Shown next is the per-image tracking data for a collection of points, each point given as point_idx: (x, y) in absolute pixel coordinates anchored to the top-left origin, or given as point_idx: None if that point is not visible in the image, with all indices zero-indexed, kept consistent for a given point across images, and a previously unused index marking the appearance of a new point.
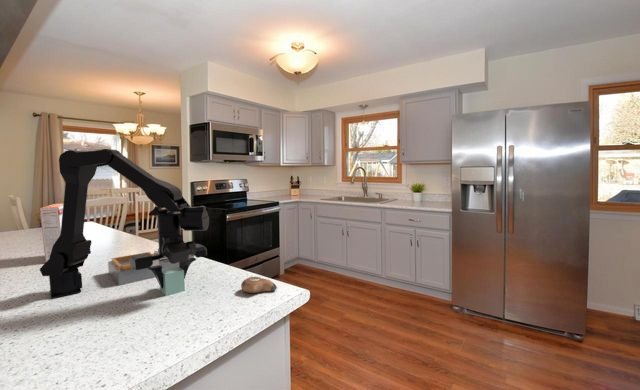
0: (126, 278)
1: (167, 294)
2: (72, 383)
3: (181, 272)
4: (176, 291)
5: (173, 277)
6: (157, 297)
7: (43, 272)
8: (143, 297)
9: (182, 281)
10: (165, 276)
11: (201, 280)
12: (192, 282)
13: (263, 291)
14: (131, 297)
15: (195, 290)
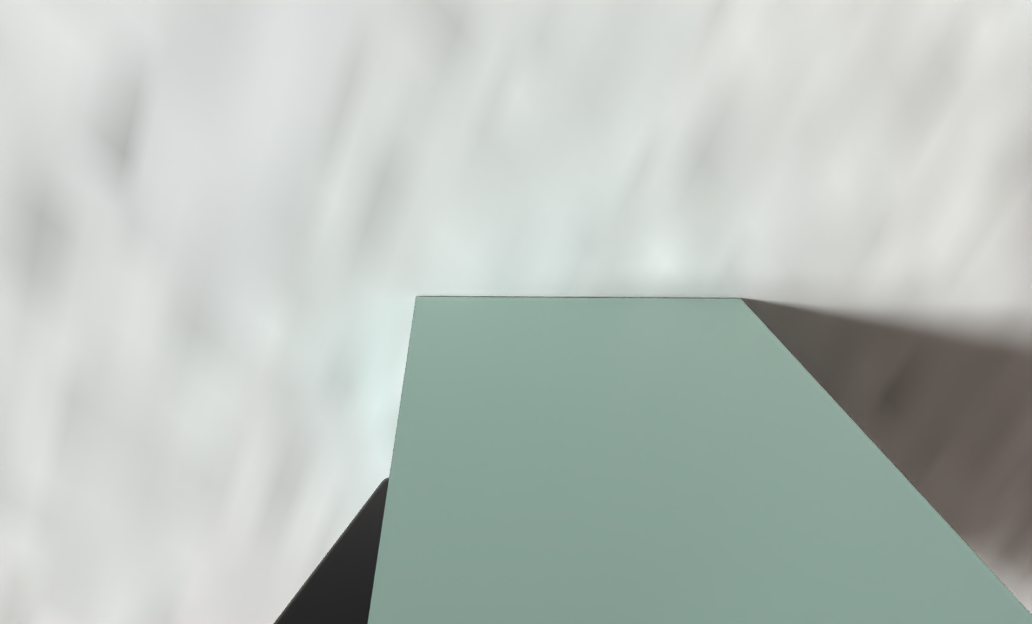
0: None
1: (725, 304)
2: None
3: (464, 622)
4: (572, 307)
5: (711, 524)
6: (850, 330)
7: None
8: (947, 457)
9: (449, 406)
10: (998, 590)
11: (27, 541)
12: (191, 548)
13: None
14: (1014, 544)
15: (240, 167)
